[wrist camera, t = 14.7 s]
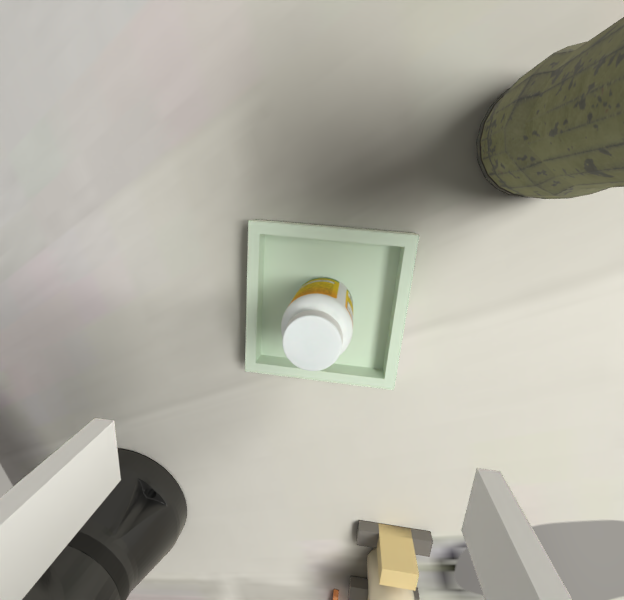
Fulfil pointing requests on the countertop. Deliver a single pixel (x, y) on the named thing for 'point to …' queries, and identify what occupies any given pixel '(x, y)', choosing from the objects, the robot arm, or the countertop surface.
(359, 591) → the fuse block
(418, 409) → the countertop surface
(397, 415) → the countertop surface
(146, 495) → the robot arm
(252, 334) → the tray
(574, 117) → the thermos
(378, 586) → the cream cylinder grey cap
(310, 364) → the supplement bottle
